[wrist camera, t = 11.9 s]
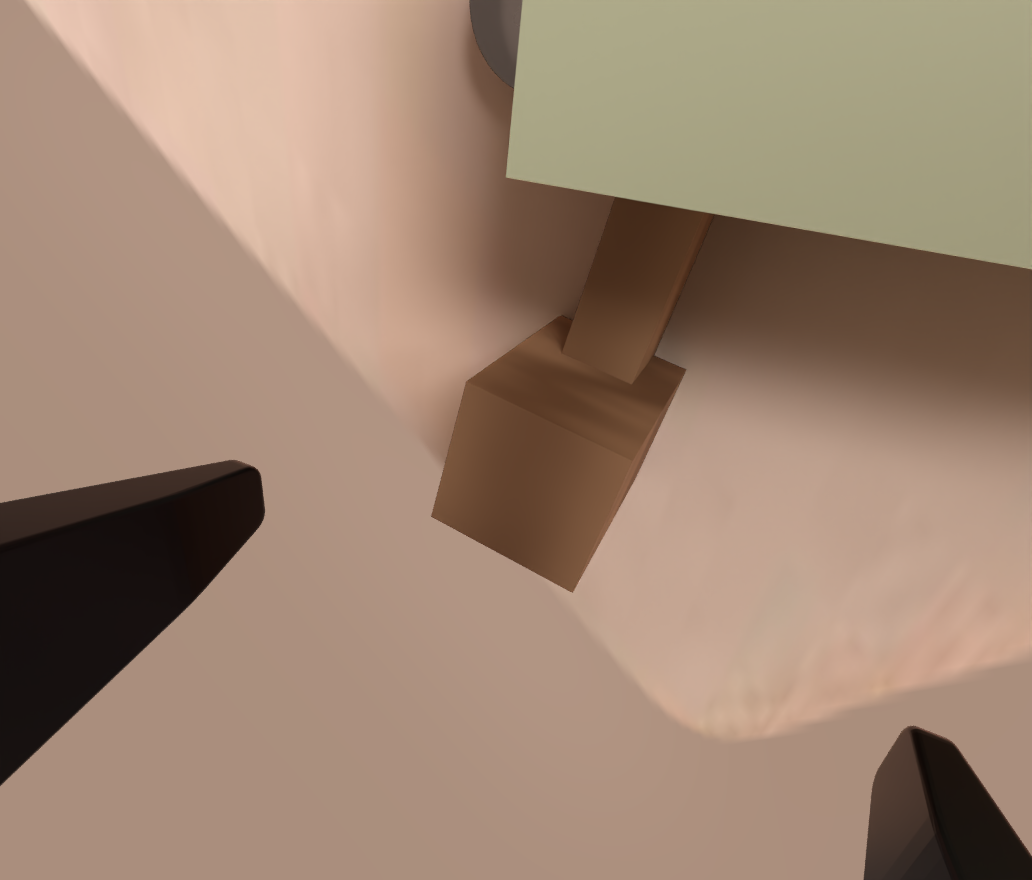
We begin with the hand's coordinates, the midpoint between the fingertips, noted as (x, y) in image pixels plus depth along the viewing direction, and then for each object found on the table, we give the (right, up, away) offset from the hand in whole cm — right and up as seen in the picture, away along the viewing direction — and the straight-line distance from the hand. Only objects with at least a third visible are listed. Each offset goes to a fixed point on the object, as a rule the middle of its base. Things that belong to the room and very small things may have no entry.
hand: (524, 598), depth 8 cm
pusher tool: (+4, +7, +9) cm, 12 cm away
